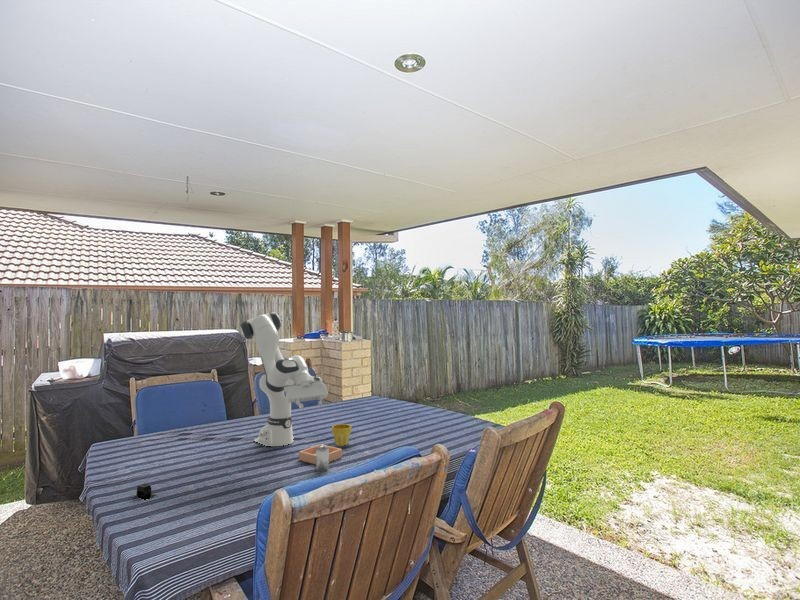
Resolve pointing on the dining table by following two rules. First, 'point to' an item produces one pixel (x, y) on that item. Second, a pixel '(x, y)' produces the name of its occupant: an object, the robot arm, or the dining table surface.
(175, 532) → the dining table surface
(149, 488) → the black block
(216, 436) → the dining table surface
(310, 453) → the terracotta bin
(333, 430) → the plant pot
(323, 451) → the silver metal cylinder
